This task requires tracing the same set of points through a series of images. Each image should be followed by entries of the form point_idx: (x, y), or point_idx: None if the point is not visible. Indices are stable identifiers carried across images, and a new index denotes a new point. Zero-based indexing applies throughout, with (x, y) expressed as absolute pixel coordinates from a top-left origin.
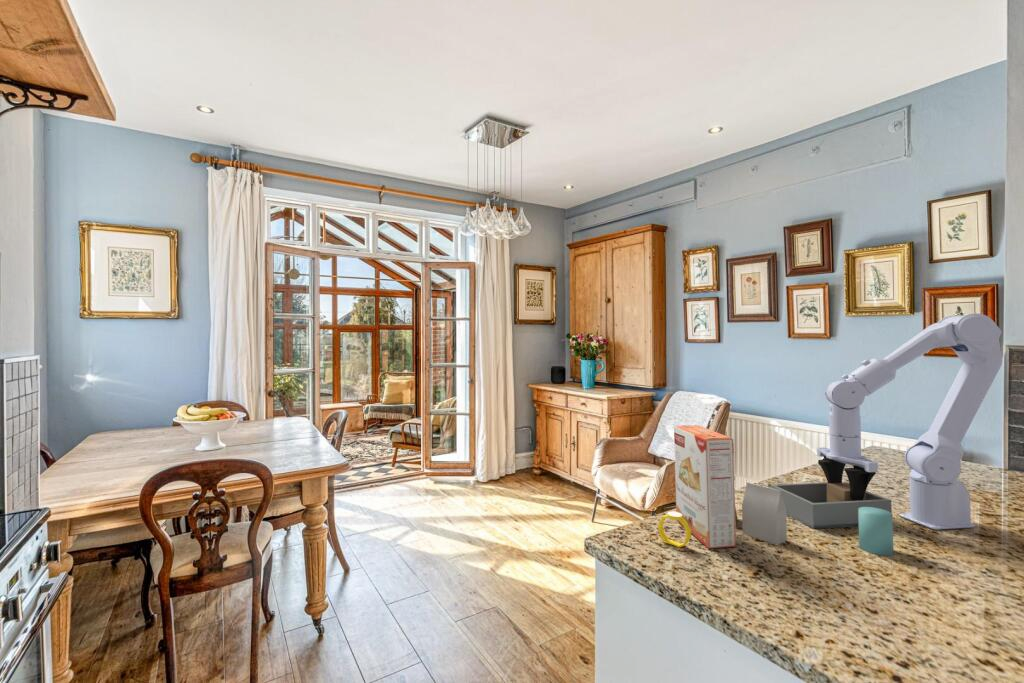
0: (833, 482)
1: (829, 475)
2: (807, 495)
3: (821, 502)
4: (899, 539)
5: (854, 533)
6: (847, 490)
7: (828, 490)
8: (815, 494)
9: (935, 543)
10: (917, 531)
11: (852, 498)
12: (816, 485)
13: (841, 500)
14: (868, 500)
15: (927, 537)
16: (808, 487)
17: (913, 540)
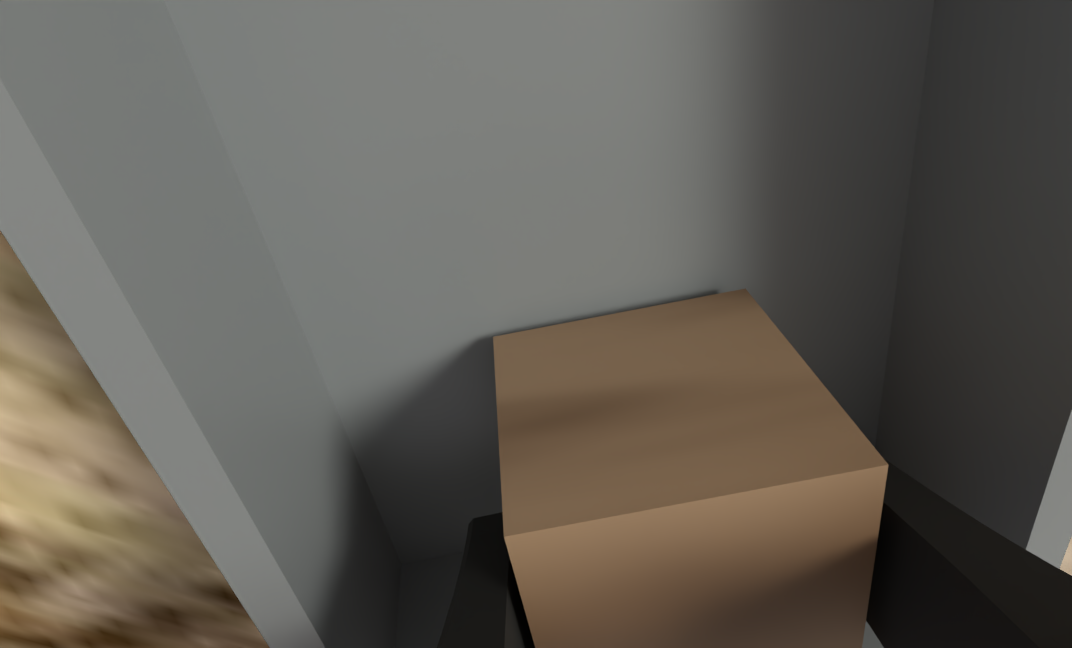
0: (900, 563)
1: (1001, 627)
2: (981, 172)
3: (885, 301)
4: (7, 483)
5: None
6: (535, 581)
7: (797, 405)
8: (966, 285)
9: (22, 640)
10: (259, 641)
11: (490, 531)
12: (1056, 363)
13: (546, 413)
14: (306, 635)
15: (143, 645)
16: (1070, 231)
17: (28, 556)
